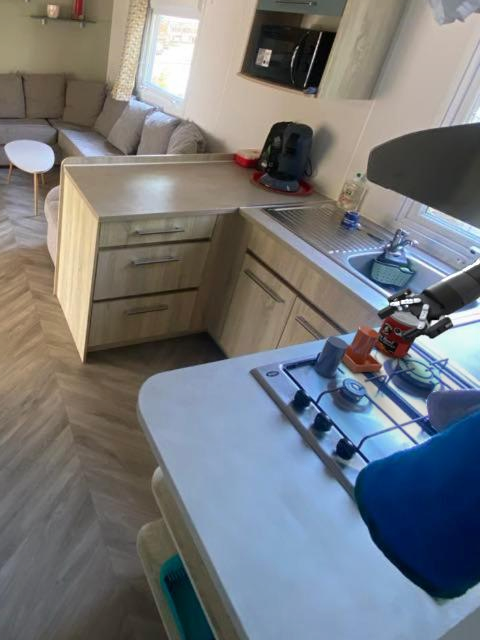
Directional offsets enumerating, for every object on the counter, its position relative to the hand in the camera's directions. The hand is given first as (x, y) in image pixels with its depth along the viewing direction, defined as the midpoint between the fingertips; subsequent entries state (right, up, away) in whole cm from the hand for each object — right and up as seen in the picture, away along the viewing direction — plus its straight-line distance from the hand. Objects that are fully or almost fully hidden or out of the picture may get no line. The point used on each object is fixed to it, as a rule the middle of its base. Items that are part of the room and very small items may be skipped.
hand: (390, 327), depth 106 cm
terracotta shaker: (-6, -10, +5) cm, 12 cm away
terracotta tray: (-6, -10, +5) cm, 13 cm away
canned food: (+8, -9, +12) cm, 17 cm away
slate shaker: (-17, -11, -1) cm, 20 cm away
